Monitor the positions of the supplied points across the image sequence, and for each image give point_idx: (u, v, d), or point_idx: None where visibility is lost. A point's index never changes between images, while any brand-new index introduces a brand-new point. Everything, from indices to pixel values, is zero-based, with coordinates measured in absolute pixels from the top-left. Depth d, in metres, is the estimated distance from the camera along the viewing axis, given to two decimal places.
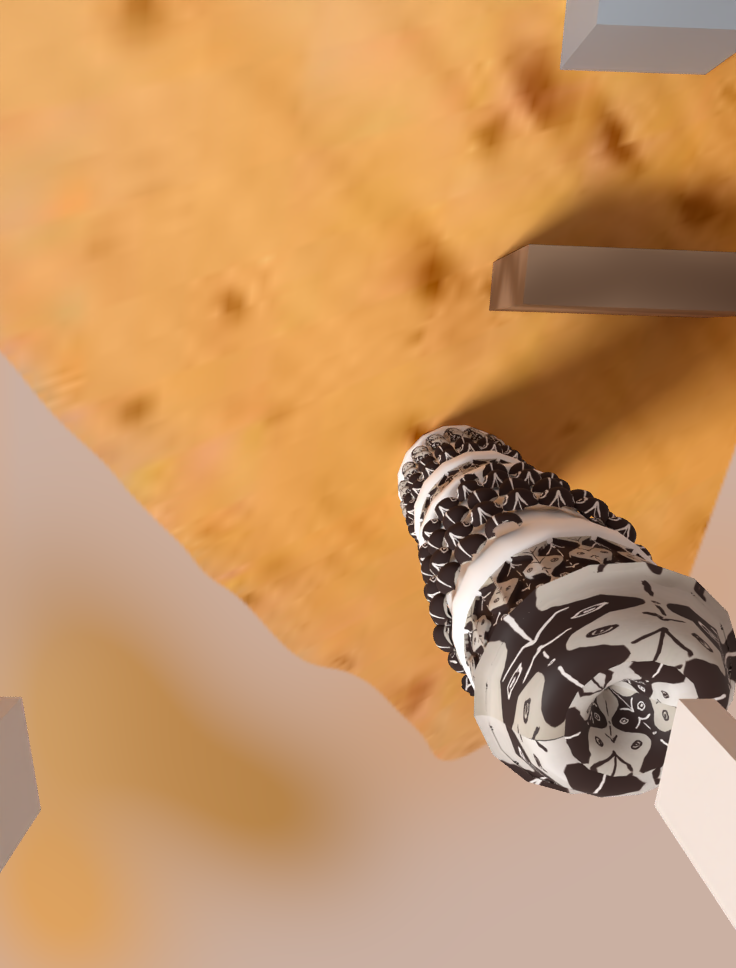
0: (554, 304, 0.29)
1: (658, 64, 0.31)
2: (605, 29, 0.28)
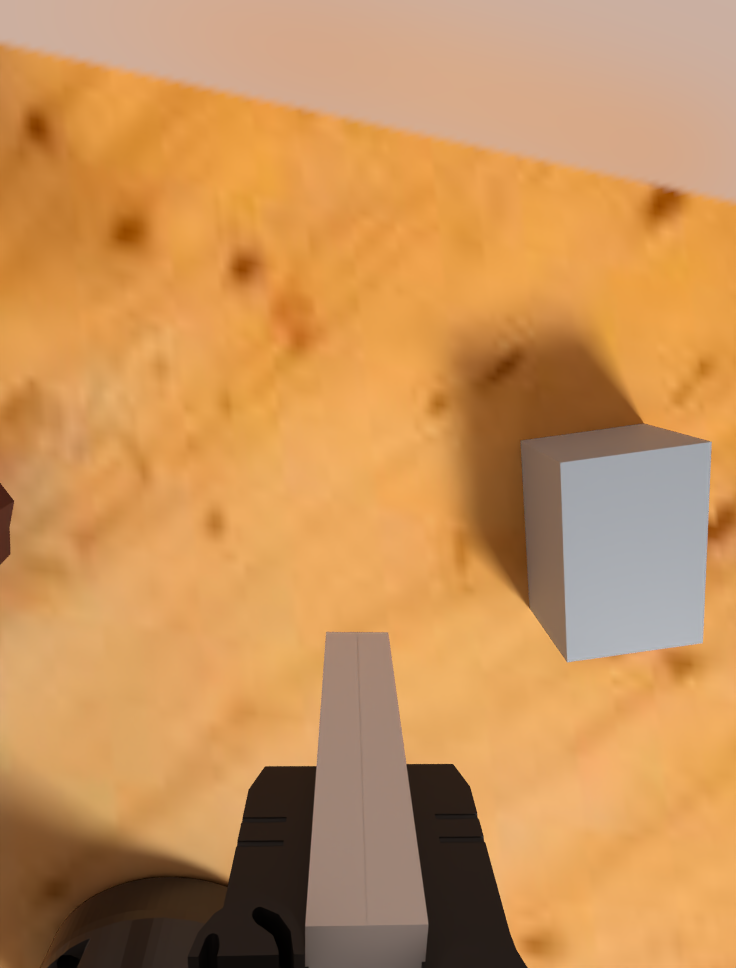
0: None
1: None
2: None
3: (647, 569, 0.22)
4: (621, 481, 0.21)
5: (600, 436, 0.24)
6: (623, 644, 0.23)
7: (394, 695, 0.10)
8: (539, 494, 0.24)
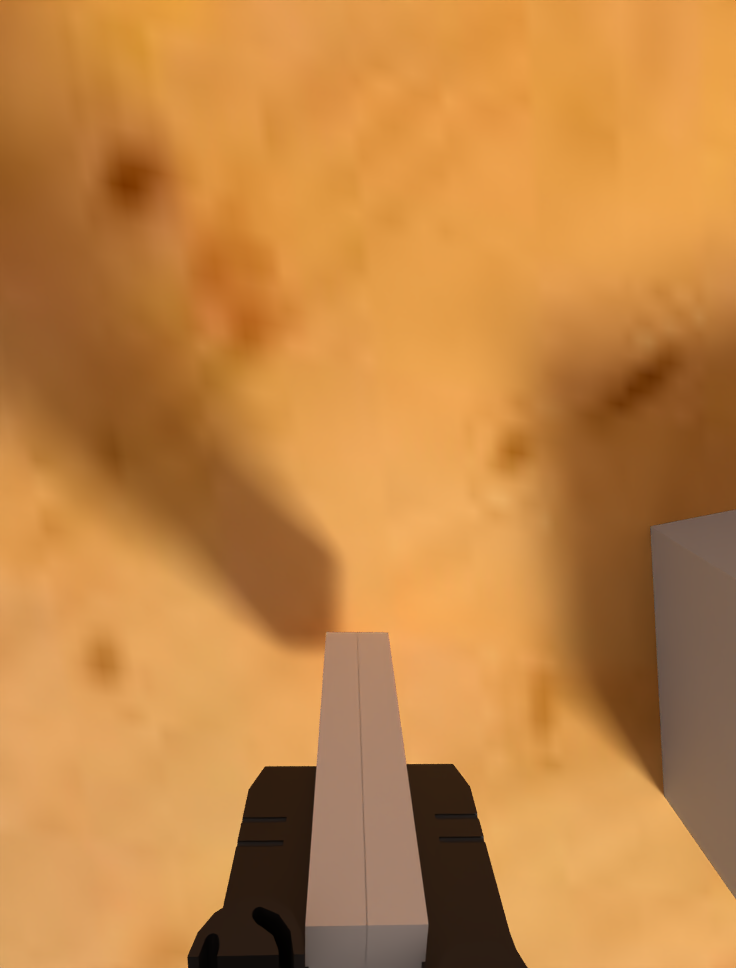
0: None
1: None
2: None
3: None
4: None
5: None
6: None
7: (394, 695, 0.10)
8: (708, 641, 0.12)
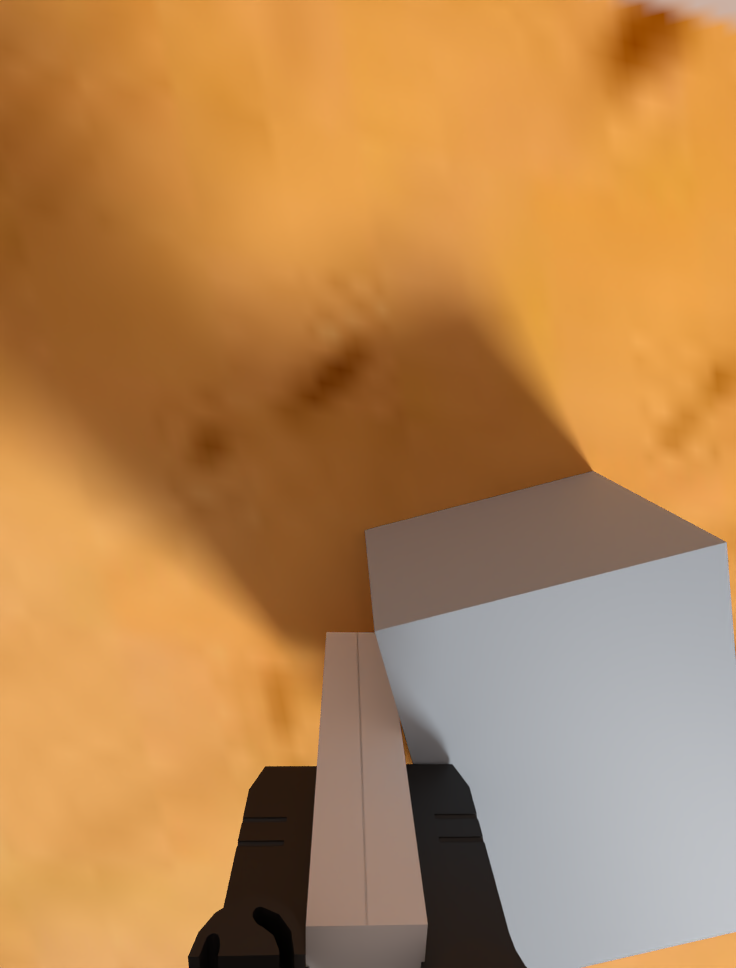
0: None
1: None
2: None
3: (617, 813, 0.10)
4: (526, 653, 0.09)
5: (502, 517, 0.12)
6: (589, 948, 0.11)
7: None
8: None
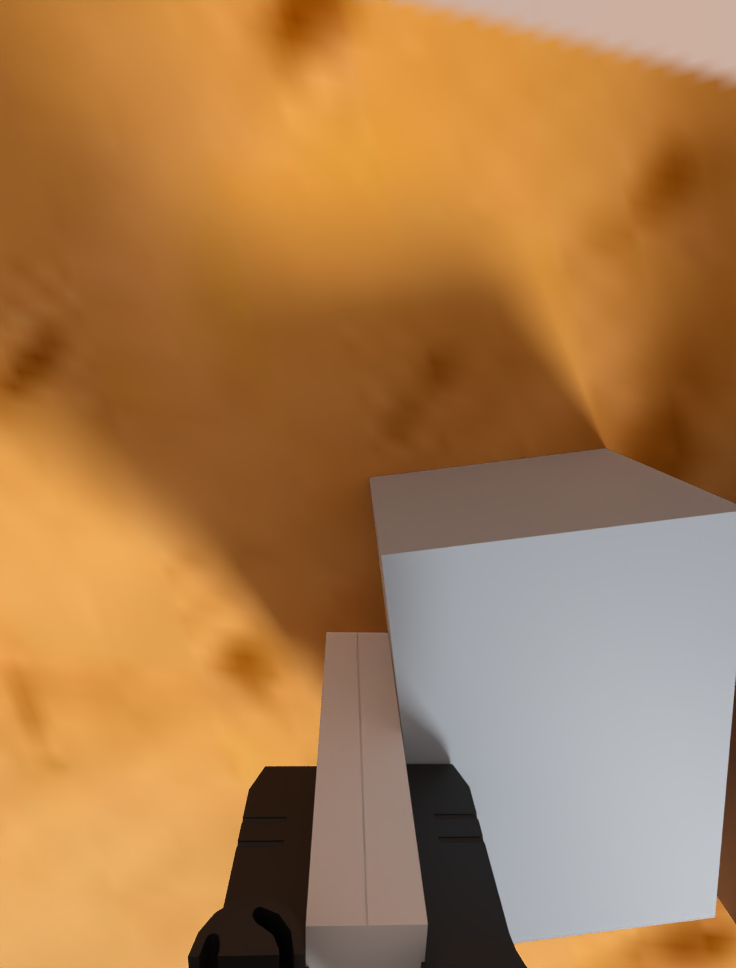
0: None
1: None
2: None
3: (597, 782, 0.10)
4: (532, 600, 0.09)
5: (514, 477, 0.12)
6: (547, 921, 0.11)
7: (394, 695, 0.10)
8: None
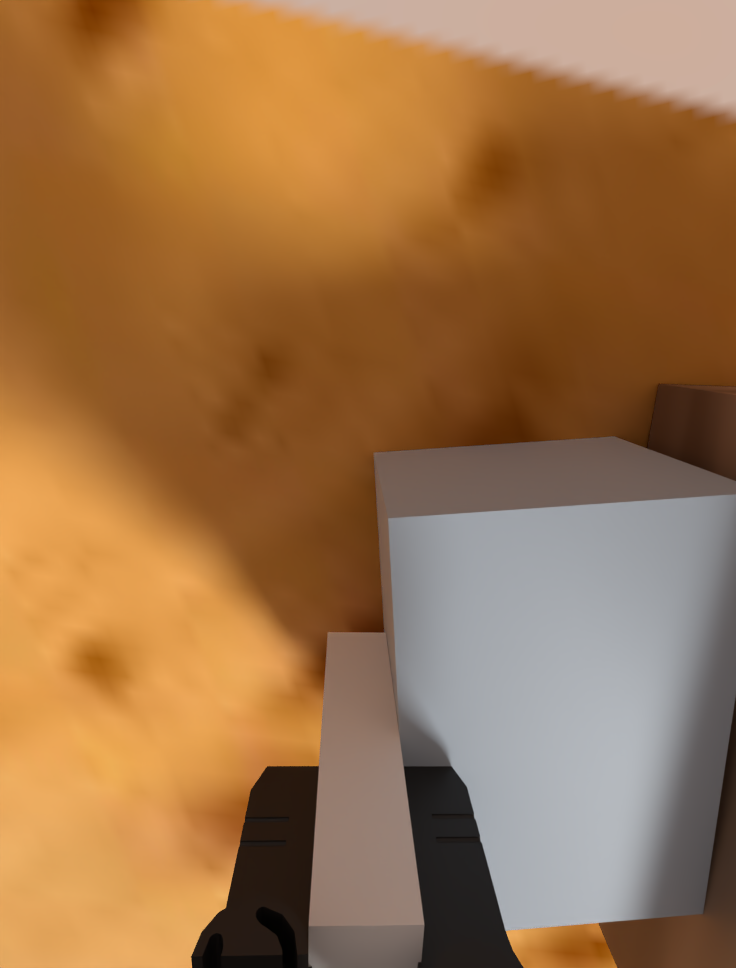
0: None
1: None
2: None
3: (593, 768, 0.10)
4: (540, 573, 0.09)
5: (522, 457, 0.12)
6: (533, 910, 0.11)
7: (391, 695, 0.10)
8: (383, 569, 0.11)
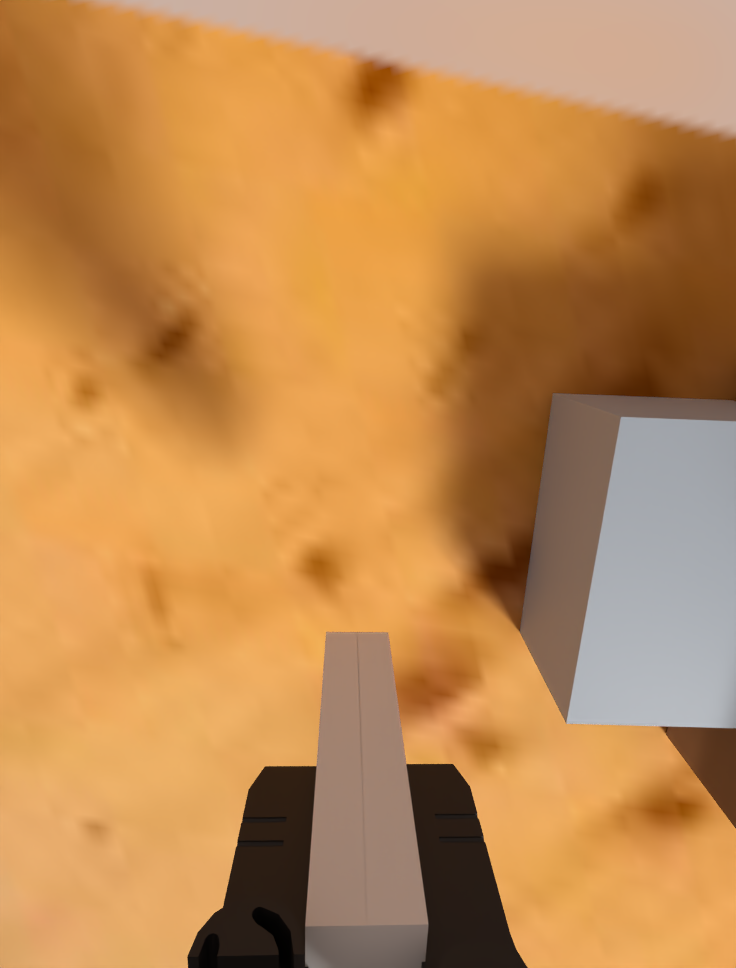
0: None
1: None
2: None
3: (715, 608, 0.14)
4: (709, 465, 0.13)
5: (673, 402, 0.16)
6: (653, 712, 0.15)
7: (394, 695, 0.10)
8: (568, 470, 0.16)
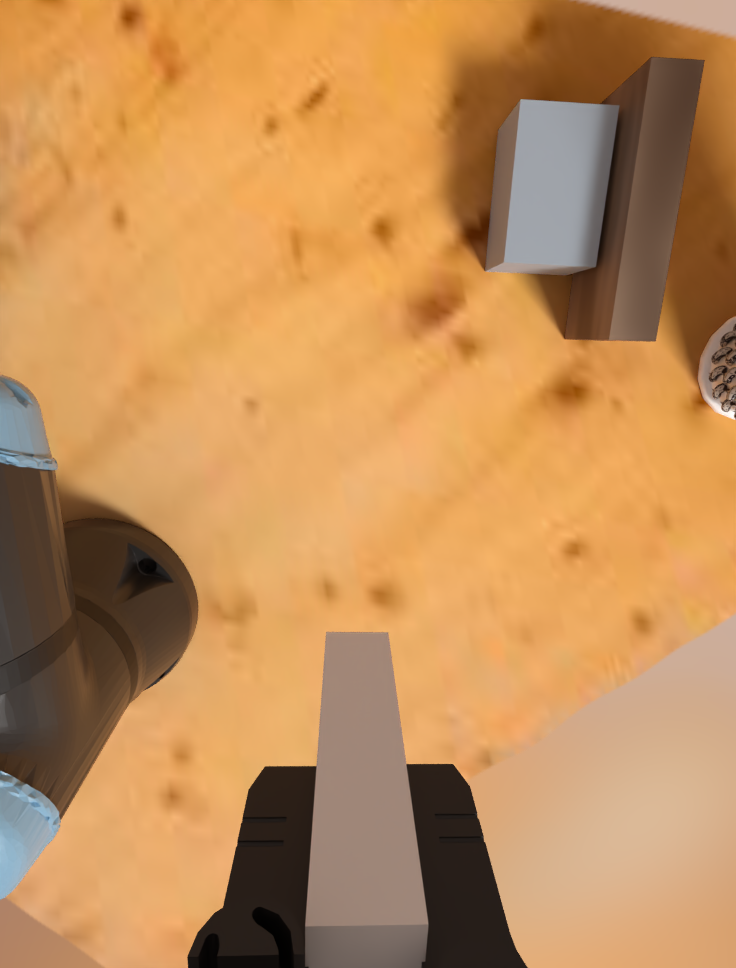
0: (659, 312, 0.33)
1: None
2: None
3: (566, 198, 0.33)
4: (558, 123, 0.32)
5: None
6: (543, 256, 0.34)
7: (394, 695, 0.10)
8: (504, 152, 0.34)
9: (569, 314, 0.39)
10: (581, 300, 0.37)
